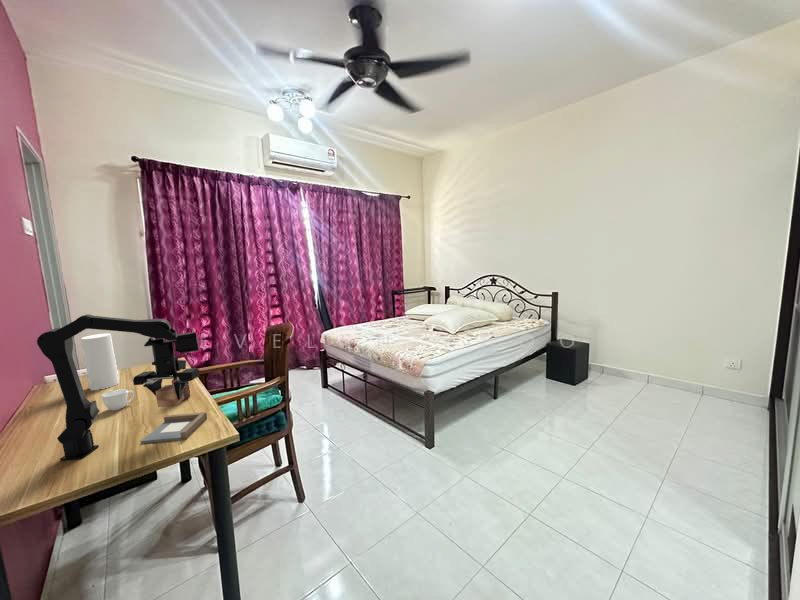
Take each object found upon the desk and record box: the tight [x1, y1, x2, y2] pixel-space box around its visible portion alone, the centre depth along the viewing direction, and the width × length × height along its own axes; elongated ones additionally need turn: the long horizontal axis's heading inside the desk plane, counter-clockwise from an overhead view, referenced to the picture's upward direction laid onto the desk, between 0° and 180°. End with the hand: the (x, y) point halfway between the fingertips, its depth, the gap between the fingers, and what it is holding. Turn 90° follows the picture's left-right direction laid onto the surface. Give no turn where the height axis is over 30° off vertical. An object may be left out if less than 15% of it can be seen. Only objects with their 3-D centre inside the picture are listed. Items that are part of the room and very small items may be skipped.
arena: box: [140, 411, 208, 444], centre depth 114 cm, size 14×14×2 cm
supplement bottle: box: [171, 378, 191, 401], centre depth 140 cm, size 6×6×11 cm
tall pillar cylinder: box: [80, 332, 120, 391], centre depth 159 cm, size 11×11×25 cm
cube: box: [155, 384, 184, 408], centre depth 113 cm, size 6×6×6 cm
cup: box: [101, 388, 136, 412], centre depth 134 cm, size 8×10×7 cm
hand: (170, 400), depth 113 cm, fingers closed on cube, 5 cm apart
